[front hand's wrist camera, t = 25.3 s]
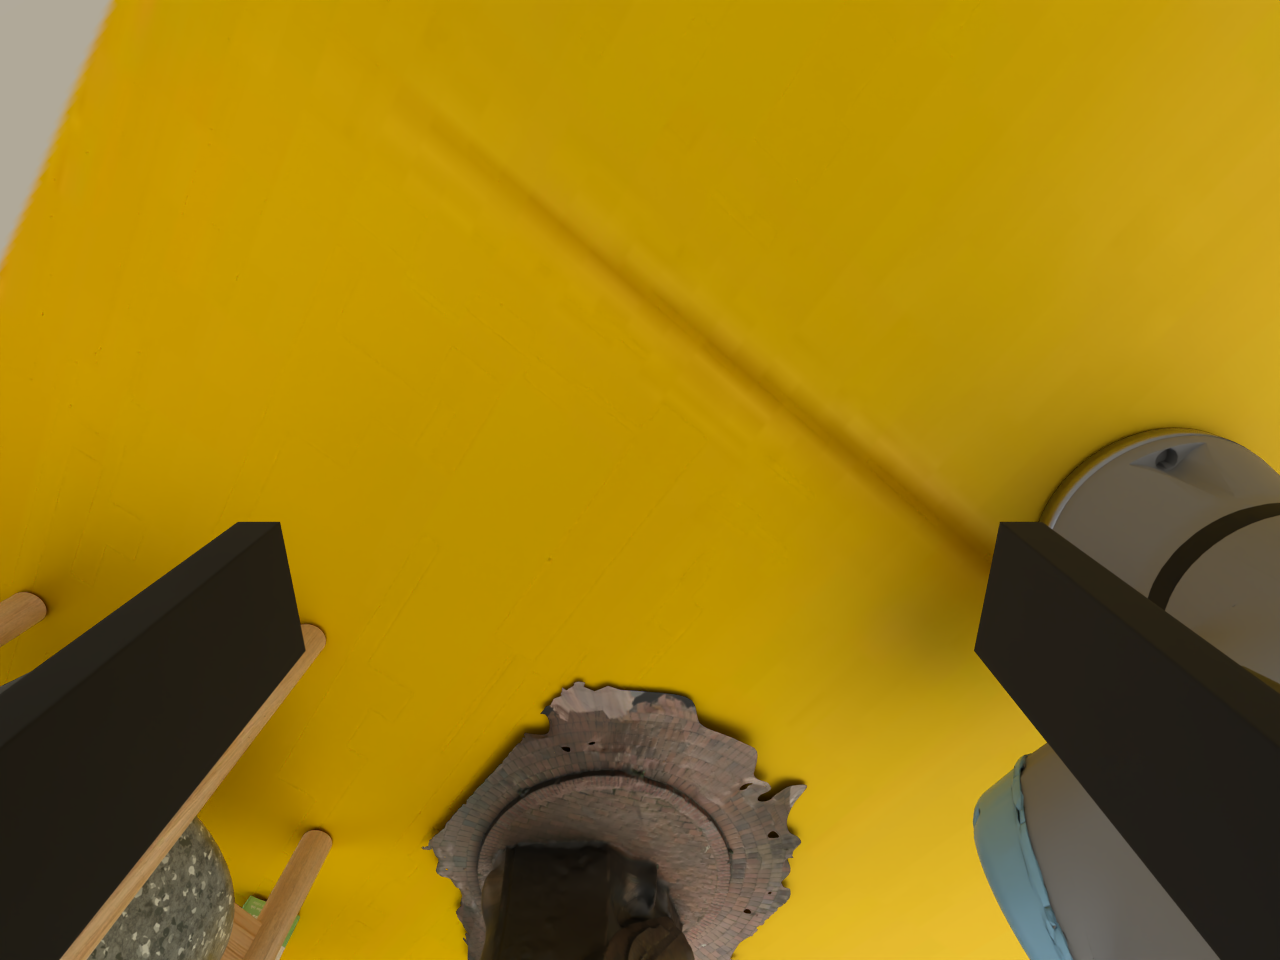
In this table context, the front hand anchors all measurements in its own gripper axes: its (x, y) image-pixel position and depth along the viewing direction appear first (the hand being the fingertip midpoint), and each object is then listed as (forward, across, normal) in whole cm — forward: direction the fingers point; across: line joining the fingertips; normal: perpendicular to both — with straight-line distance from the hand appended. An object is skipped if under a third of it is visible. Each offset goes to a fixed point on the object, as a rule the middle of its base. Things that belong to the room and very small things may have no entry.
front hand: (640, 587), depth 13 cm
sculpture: (+32, +2, +44) cm, 54 cm away
